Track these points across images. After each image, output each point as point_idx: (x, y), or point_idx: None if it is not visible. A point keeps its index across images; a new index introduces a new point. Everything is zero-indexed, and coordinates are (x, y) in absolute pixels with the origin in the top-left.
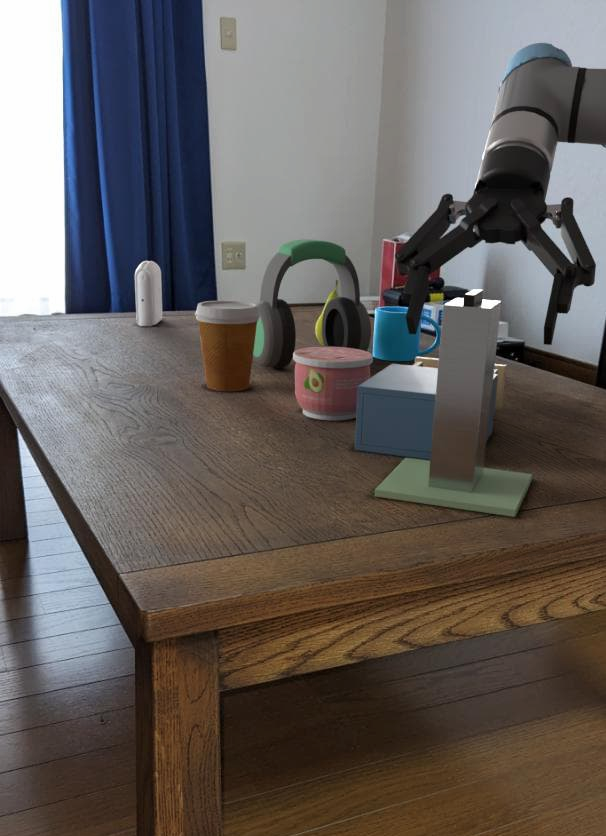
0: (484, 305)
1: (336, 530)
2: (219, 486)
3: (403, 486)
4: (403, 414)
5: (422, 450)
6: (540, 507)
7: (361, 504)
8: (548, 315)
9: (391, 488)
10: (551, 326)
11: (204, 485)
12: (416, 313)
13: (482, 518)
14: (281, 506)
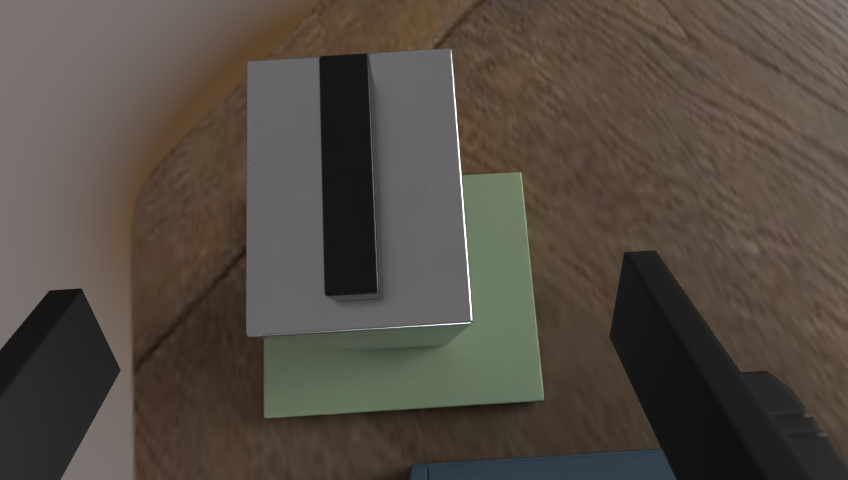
0: (289, 131)
1: (512, 12)
2: (783, 99)
3: (479, 210)
4: (600, 473)
5: (525, 461)
6: (232, 265)
7: (524, 131)
8: (41, 331)
9: (495, 188)
10: (48, 295)
11: (808, 92)
12: (637, 315)
13: None
14: (636, 62)
